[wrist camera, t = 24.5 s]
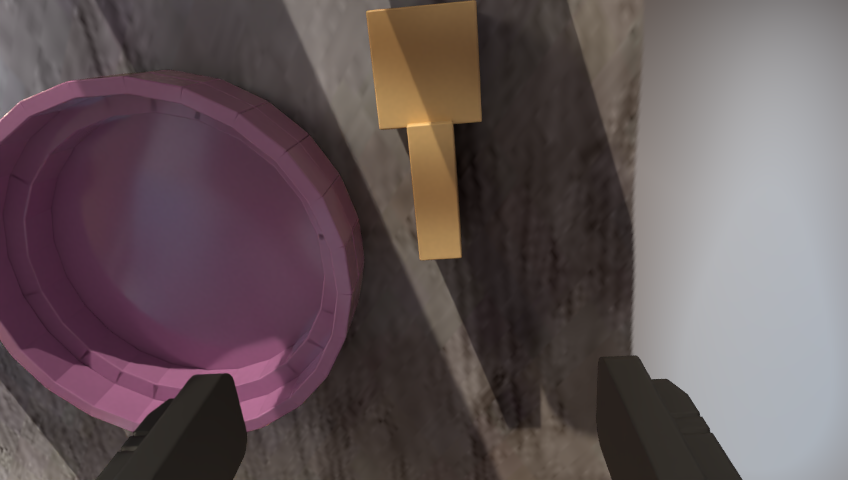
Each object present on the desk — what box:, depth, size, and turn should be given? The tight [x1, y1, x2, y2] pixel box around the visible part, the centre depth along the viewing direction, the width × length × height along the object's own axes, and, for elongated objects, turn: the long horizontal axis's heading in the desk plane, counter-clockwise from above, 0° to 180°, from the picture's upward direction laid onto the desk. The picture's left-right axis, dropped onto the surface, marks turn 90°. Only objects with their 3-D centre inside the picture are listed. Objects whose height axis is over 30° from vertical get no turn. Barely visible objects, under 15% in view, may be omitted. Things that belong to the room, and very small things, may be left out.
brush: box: [366, 0, 482, 260], centre depth 28 cm, size 12×5×4 cm, turn 5°
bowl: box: [0, 70, 365, 432], centre depth 31 cm, size 21×21×5 cm
